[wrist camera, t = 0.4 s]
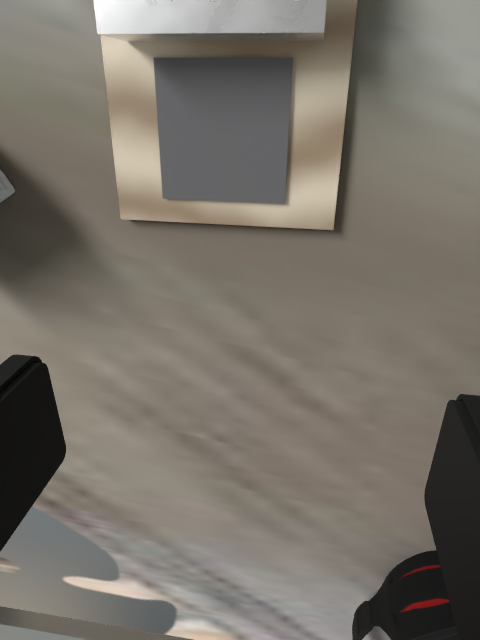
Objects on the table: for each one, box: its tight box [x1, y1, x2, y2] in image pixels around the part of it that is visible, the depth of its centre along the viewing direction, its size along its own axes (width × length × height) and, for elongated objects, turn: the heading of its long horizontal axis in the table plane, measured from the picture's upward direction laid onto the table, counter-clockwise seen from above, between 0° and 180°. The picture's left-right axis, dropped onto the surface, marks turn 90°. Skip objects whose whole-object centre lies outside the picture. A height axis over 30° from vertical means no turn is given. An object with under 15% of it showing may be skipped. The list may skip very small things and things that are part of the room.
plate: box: [94, 0, 358, 230], centre depth 29 cm, size 28×18×6 cm, turn 179°
